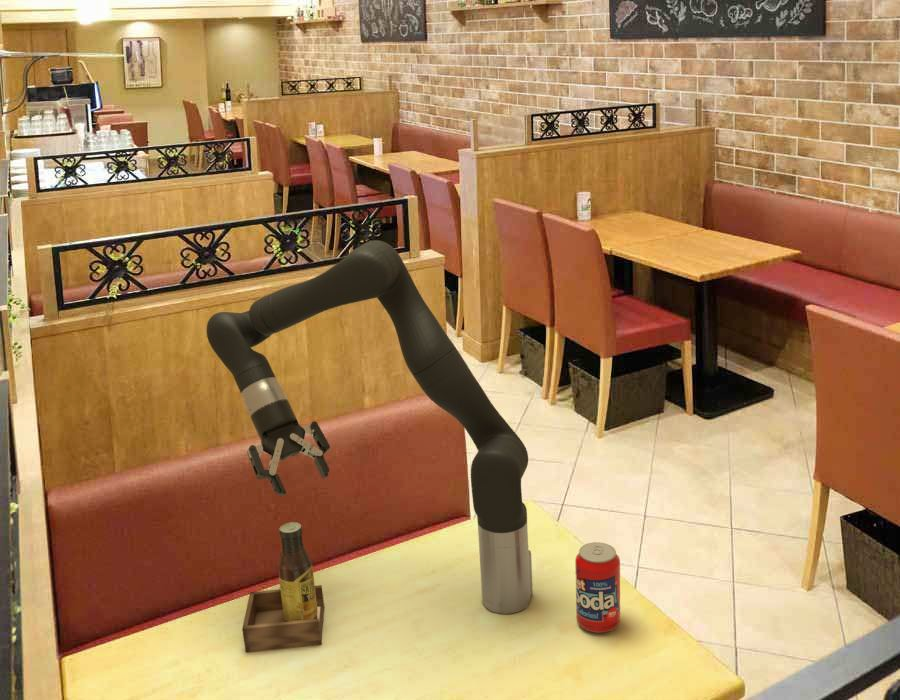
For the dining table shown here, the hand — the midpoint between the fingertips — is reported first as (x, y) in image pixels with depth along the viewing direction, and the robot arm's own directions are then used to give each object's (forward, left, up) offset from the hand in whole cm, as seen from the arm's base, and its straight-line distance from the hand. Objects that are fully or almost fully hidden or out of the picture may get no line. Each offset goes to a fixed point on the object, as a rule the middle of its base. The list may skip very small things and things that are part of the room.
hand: (305, 486), depth 167 cm
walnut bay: (+7, -2, -27) cm, 28 cm away
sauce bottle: (+5, 0, -26) cm, 27 cm away
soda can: (-28, +44, -27) cm, 59 cm away
